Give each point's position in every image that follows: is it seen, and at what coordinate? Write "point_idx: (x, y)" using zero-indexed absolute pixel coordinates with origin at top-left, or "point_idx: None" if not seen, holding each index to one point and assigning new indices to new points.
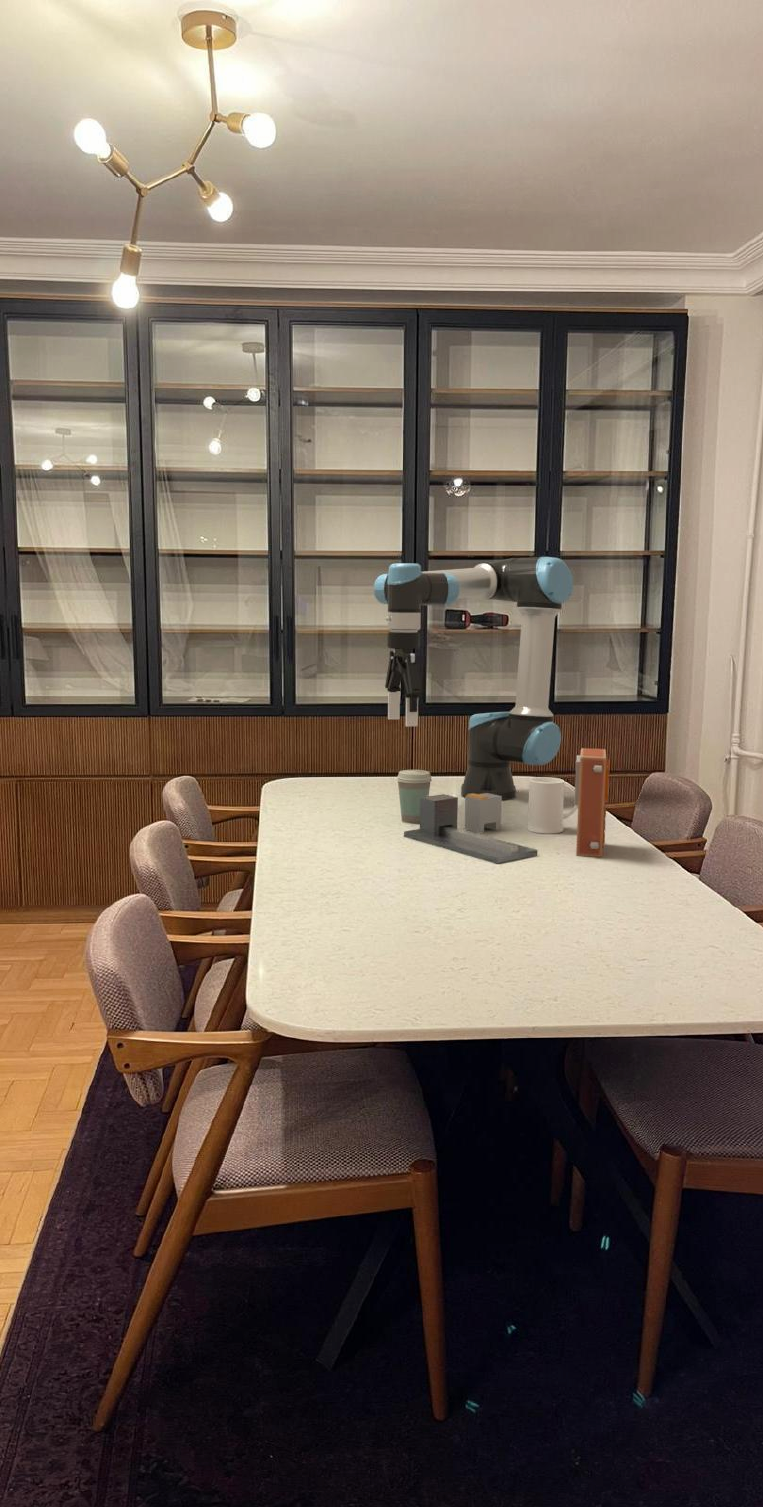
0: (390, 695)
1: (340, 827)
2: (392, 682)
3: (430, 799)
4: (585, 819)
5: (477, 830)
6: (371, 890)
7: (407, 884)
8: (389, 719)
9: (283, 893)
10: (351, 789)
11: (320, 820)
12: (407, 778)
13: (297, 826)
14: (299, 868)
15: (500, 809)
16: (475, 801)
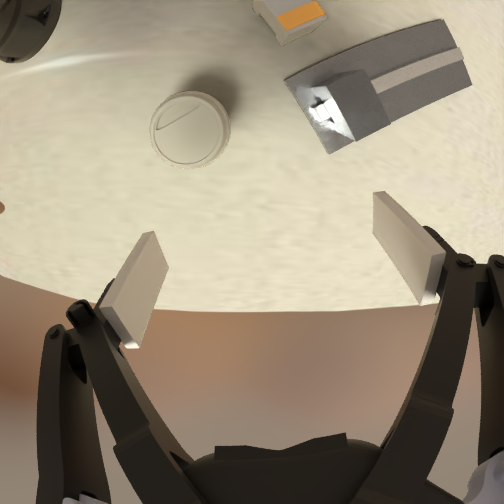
0: (139, 331)
1: (254, 236)
2: (139, 386)
3: (376, 127)
4: None
5: (309, 32)
6: (495, 230)
7: (496, 199)
8: (167, 265)
9: None
10: (16, 215)
11: (206, 259)
12: (221, 149)
13: (245, 286)
14: None
15: None
16: (314, 24)
